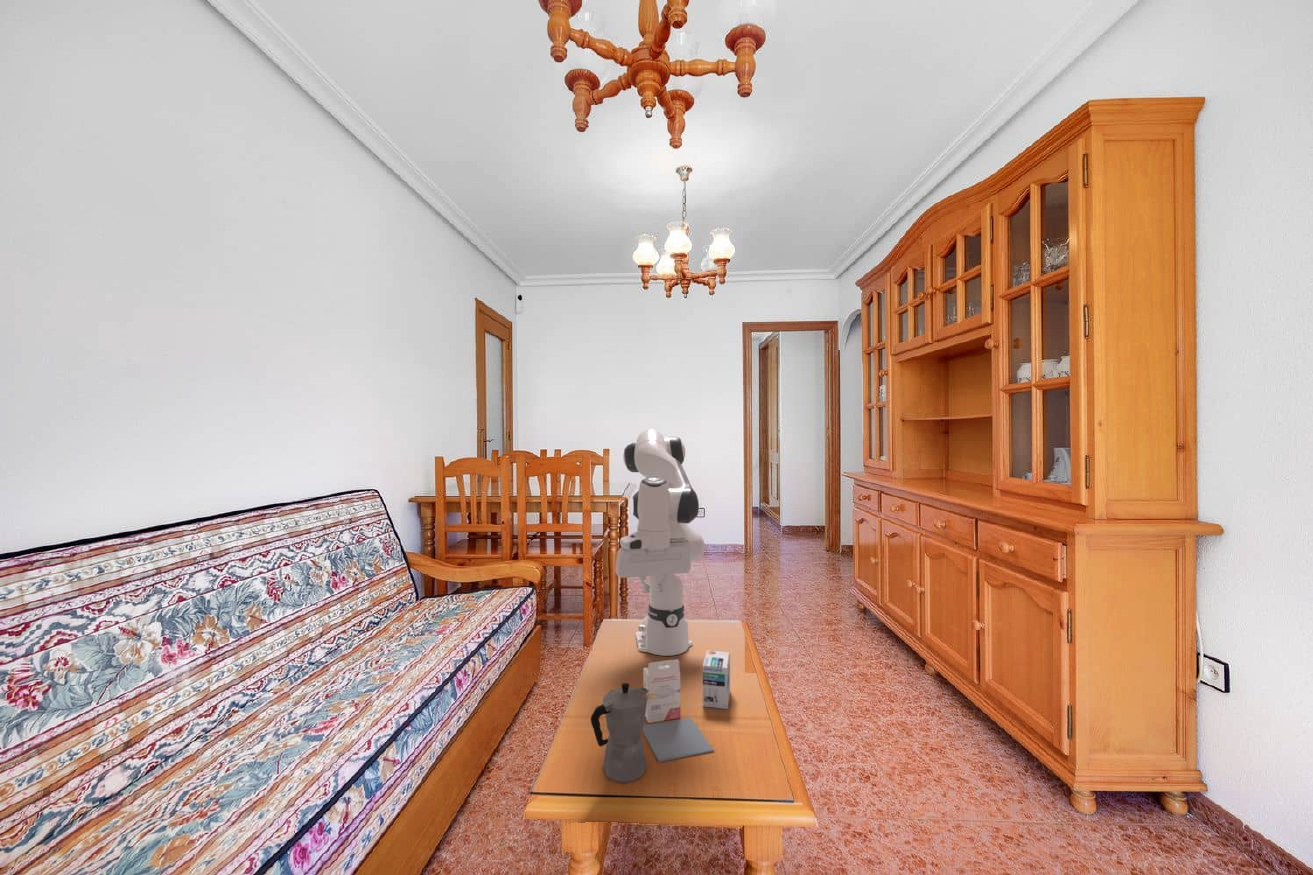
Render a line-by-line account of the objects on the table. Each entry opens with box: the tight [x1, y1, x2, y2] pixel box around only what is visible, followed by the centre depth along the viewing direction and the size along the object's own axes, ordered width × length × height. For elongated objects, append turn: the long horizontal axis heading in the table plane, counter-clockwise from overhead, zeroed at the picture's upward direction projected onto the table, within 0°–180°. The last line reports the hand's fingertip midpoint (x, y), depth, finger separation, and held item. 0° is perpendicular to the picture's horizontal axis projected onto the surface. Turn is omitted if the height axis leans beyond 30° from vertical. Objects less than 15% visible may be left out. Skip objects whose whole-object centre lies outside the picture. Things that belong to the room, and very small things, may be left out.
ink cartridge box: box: [642, 658, 681, 724], centre depth 130 cm, size 9×5×15 cm, turn 106°
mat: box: [641, 717, 715, 763], centre depth 119 cm, size 14×13×1 cm
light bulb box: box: [702, 650, 731, 710], centre depth 139 cm, size 11×7×11 cm, turn 168°
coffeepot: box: [590, 682, 649, 784], centre depth 108 cm, size 15×9×18 cm, turn 134°
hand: (653, 591), depth 137 cm, fingers open, 3 cm apart
